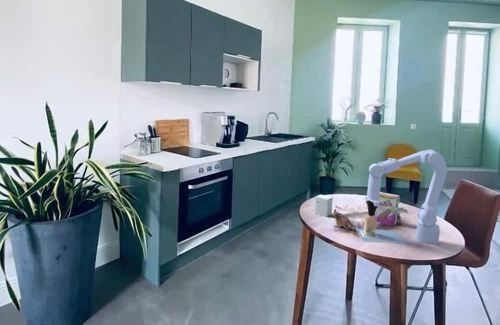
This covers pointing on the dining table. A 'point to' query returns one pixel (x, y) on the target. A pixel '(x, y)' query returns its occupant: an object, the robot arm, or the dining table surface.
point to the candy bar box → (387, 208)
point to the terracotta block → (370, 221)
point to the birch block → (369, 231)
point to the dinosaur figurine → (342, 220)
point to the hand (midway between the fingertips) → (371, 215)
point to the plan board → (382, 236)
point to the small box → (323, 205)
